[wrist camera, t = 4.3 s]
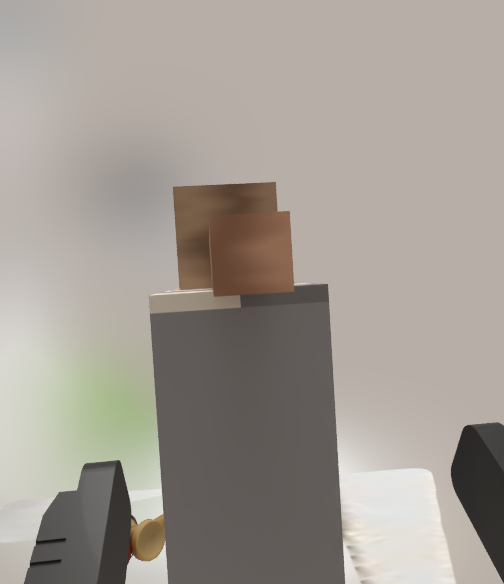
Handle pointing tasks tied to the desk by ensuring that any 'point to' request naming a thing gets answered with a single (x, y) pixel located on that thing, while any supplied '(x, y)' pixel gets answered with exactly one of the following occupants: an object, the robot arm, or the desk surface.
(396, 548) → the desk surface
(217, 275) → the brown angular block
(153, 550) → the kendama
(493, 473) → the robot arm
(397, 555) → the desk surface
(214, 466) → the grey upright pillar
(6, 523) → the desk surface
